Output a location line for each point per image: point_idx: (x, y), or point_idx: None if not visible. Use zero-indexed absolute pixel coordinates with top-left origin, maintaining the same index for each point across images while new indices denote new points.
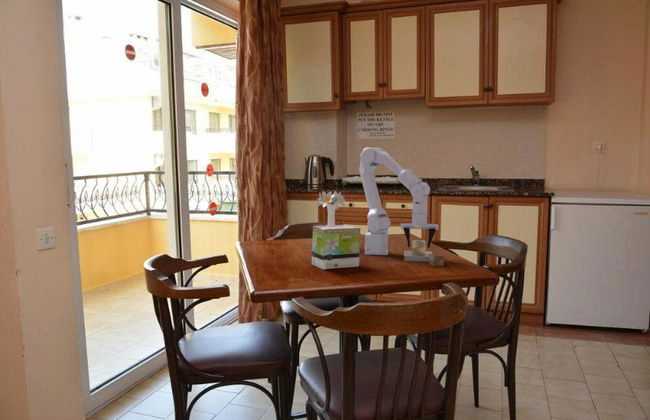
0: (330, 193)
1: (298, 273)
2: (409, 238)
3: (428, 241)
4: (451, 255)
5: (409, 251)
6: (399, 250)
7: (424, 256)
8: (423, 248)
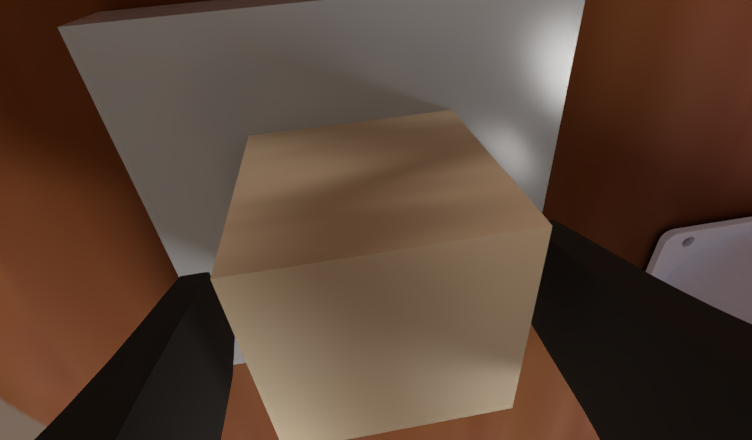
0: None
1: None
2: (668, 325)
3: (162, 372)
4: (57, 413)
5: None
6: (507, 414)
7: (239, 8)
8: (276, 186)
